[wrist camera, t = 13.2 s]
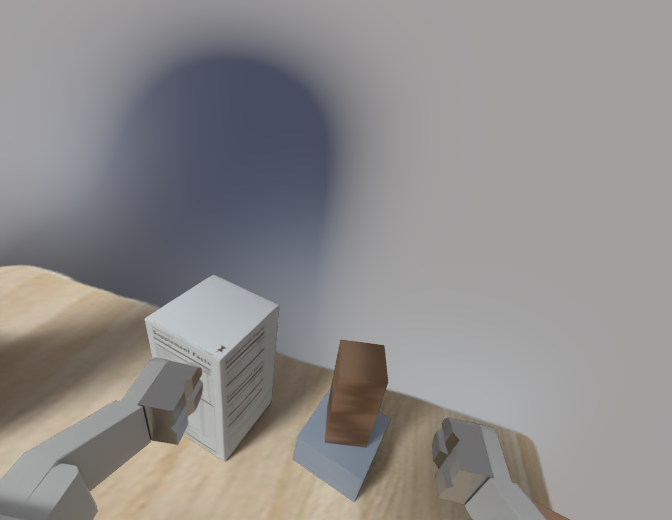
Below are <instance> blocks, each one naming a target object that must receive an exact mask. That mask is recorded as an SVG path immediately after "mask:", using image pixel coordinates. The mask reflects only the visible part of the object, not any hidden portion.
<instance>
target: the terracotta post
mask: <svg viewBox="0 0 672 520" xmlns="http://www.w3.org/2000/svg"><path fill="white" fill-rule="evenodd" d="M531 501H532V500H531ZM532 503H533V504H534V505H535V506H536V507H537V509H538V510H539V511H540V512H541V514H542V515H543V516H544V517H545V519H546V520H569V519H568V518H565V517H563V516H561V515H560V514H558V513H556V512H554V511H552V510H550V509H548V508H546V507H544V506H542V505H540V504H538V503H536V502H534V501H532Z"/></svg>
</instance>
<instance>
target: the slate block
mask: <svg viewBox="0 0 672 520" xmlns="http://www.w3.org/2000/svg"><path fill="white" fill-rule="evenodd" d="M330 390H331V388H330ZM330 390H329V391H328V393H327V394H326V396H325V397H324V398H323V400H322V401H321V403H320V404H319V406H318V407H317V409H316V410H315V411H314V413H313V414H312V416H311V417H310V419H309V420H308V422H307V423H306V424H305V426H304V427H303V429H302V430H301V432H300V433H299V435H298V436H297V439H296V445H295V450H294V456H293V460H294V461H296V462H297V463H298V464H300V465H301V466H303V467H304V468H306V469H307V470H308V471H310V472H311V473H313V474H314V475H316V476H317V477H318V478H320V479H321V480H323V481H324V482H326V483H327V484H328V485H330V486H331V487H333V488H334V489H336V490H337V491H338V492H340V493H341V494H343V495H344V496H346V497H347V498H348V499H350V500H351V501H353V502H354V501H355V499H356V497H357V494H358V492H359V490H360V488H361V485H362V483H363V481H364V479H365V476H366V474H367V472H368V470H369V468H370V465H371V463H372V461H373V459H374V456H375V454H376V452H377V450H378V447H379V445H380V443H381V441H382V438H383V436H384V434H385V431H386V429H387V427H388V424H389V422H390V420H391V419H390V418H388V417H387V416H385V415H383V414H381V413H380V412H378V414H377V417H376V420H375V423H374V426H373V428H372V431H371V434H370V437H369V440H368V443H367V446H366V448H365V447H356V446H348V445H339V444H331V443H325V432H326V418H327V405H328V400H329V395H330Z"/></svg>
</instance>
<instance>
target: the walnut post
mask: <svg viewBox="0 0 672 520" xmlns="http://www.w3.org/2000/svg"><path fill="white" fill-rule="evenodd" d="M387 384H388V376H387V366H386V358H385V348H384V345H377V344H370V343H362V342H354V341H347V340H341V341H340V346H339V351H338V355H337V360H336V365H335V370H334V375H333V380H332V385H331V390H330V395H329V400H328V405H327V418H326V432H325V443H331V444H339V445H348V446H356V447H365V448H366V446H367V443H368V440H369V437H370V434H371V431H372V428H373V426H374V423H375V420H376V417H377V414H378V411H379V408H380V405H381V402H382V399H383V396H384V393H385V390H386V387H387Z"/></svg>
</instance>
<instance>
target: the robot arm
mask: <svg viewBox="0 0 672 520" xmlns="http://www.w3.org/2000/svg"><path fill="white" fill-rule="evenodd" d="M201 375H202V367H197V366H193V365H188V364H184V363H179V362H175V361H171V360H166V359H161V358H156V357H154V358H153V359H152V360H151V361H149V363H148V364H147V365H146V367H145V368H144V370H143V371H142V372H141V374H140V375H139V376H138V378H137V379H136V380H135V382H134V383H133V385H132V386H131V387H130V389H129V390H128V391H127V393H126V394H125V395H124V397H123V398H122V400H121V401H114V402H112V403H110V404H109V405H107V406H105V407H103V408H102V409H100V410H98V411H97V412H95V413H93V414H91V415H90V416H88V417H86V418H84V419H83V420H81V421H79V422H77V423H76V424H74V425H72V426H71V427H69V428H67V429H65V430H64V431H62V432H60V433H58V434H57V435H55V436H53V437H51V438H50V439H48V440H46V441H44V442H43V443H41V444H39V445H38V446H36V447H34V448H32V449H31V450H29V451H27V452H25V453H24V454H23V455H22V456H21V457H20V458H19V459H18V461H17V462H16V463H15V464H14V465H13V466H12V467H11V468H10V470H9V471H8V472H7V473H6V474H5V475H4V476H3V478H2V479H1V480H0V520H93V518H94V517H95V515H96V513H97V512H98V510H97V505H96V503H95V501H94V499H93V497H92V495H91V493H90V491H91V490H92V489H93V488H95V487H96V486H97V485H98V484H100V483H101V482H102V481H103V480H105V479H106V478H107V477H108V476H109V475H111V474H112V473H113V472H114V471H116V470H117V469H118V468H119V467H121V466H122V465H123V464H124V463H125V462H127V461H128V460H129V459H130V458H132V457H133V456H134V455H135V454H137V453H138V452H139V451H140V450H142V449H143V448H144V447H145V446H146V445H148V444H149V443H150V442H151V440H152V441H158V442H164V443H170V444H175V445H178V444H179V442H180V440H181V438H182V436H183V434H184V432H185V430H186V428H187V426H188V416H189V415H191V414H192V413H194V412H195V410H196V408H197V406H198V404H199V402H200V399H201V396H202V391H203V382H202V381H201V380H200V377H201ZM442 428H443V429H441V430H438V431H437V432H436V434H435V436H434V439H433V444H432V454H433V461H434V462H435V464H436V465H437V467H438V468H439V470H438V472H437V473H436V475H435V477H436V484H437V491H438V498H439V499H443V500H448V501H452V502H456V503H460V504H465V508H466V509H467V511H468V513H469V515H470V516H471V518H472V520H546V519H545V517H544V516H543V515H542V514H541V512H540V511H539V510H538V509H537V507H536V506H535V505H534V504H533V503H532V501H531V500H530V499H529V498H528V496H527V495H526V494H525V493H524V492H523V490H522V489H521V488H520V487H519V485H518V484H517V483H514V482H512V480H511V477H510V474H509V471H508V468H507V464H506V461H505V458H504V455H503V452H502V449H501V445H500V442H499V439H498V436H497V433H496V431H495V429H494V428H493V427H490V426H485V425H480V424H476V423H472V422H467V421H461V420H456V419H451V418H446V419H444V421H443V422H442Z"/></svg>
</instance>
